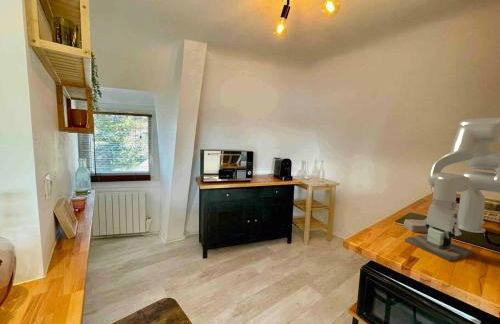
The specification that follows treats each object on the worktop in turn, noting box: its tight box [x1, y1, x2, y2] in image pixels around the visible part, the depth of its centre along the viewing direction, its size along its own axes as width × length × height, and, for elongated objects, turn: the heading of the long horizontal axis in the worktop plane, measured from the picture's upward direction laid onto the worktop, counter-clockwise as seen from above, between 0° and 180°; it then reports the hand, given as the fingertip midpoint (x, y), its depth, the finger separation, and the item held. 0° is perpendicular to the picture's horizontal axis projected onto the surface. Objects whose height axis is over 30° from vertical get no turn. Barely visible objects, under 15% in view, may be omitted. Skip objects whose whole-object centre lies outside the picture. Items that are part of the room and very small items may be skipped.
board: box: [404, 232, 474, 262], centre depth 100 cm, size 16×18×2 cm
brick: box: [403, 218, 428, 233], centre depth 119 cm, size 17×8×5 cm, turn 85°
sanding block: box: [427, 228, 454, 249], centre depth 99 cm, size 8×5×7 cm, turn 109°
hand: (438, 242), depth 100 cm, fingers closed on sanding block, 5 cm apart
